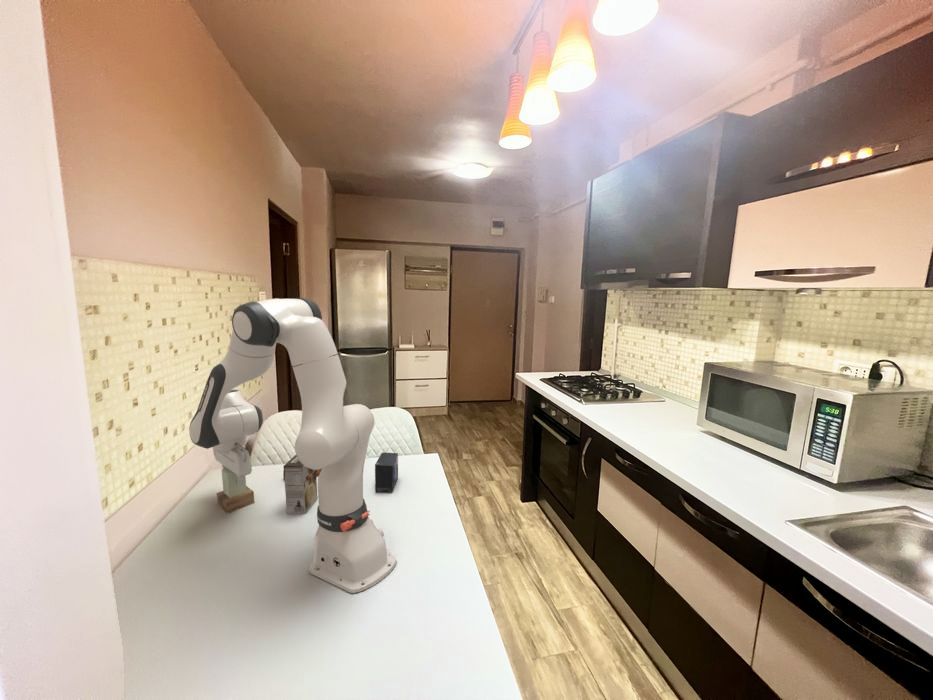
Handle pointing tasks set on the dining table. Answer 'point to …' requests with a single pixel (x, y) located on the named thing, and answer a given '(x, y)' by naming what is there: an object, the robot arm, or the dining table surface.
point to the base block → (235, 500)
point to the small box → (386, 472)
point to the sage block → (231, 484)
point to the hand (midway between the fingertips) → (234, 480)
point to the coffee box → (299, 486)
